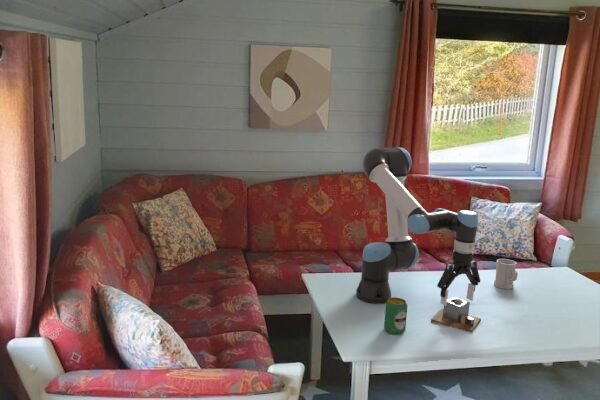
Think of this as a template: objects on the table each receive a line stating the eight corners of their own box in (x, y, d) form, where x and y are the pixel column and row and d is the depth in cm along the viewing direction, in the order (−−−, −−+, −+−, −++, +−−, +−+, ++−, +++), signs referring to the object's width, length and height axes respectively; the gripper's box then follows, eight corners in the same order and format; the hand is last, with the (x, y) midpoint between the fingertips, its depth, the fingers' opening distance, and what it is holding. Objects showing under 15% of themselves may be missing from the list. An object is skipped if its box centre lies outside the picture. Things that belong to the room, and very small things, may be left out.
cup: (519, 286, 259) (522, 261, 256) (514, 291, 252) (518, 267, 249) (496, 281, 264) (499, 257, 262) (491, 286, 257) (494, 262, 254)
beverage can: (391, 336, 202) (393, 306, 200) (379, 327, 209) (382, 298, 207) (409, 333, 205) (412, 303, 203) (397, 324, 212) (399, 295, 210)
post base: (430, 321, 216) (433, 300, 214) (441, 310, 227) (443, 290, 225) (471, 332, 208) (474, 310, 206) (480, 320, 219) (482, 299, 217)
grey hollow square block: (442, 317, 219) (444, 300, 217) (453, 312, 223) (454, 296, 222) (466, 327, 210) (468, 310, 209) (477, 322, 215) (479, 306, 213)
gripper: (445, 257, 203) (438, 310, 208) (494, 250, 214) (486, 300, 219) (431, 251, 209) (425, 302, 214) (480, 244, 220) (473, 293, 225)
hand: (456, 301), depth 217 cm, fingers open, 13 cm apart
